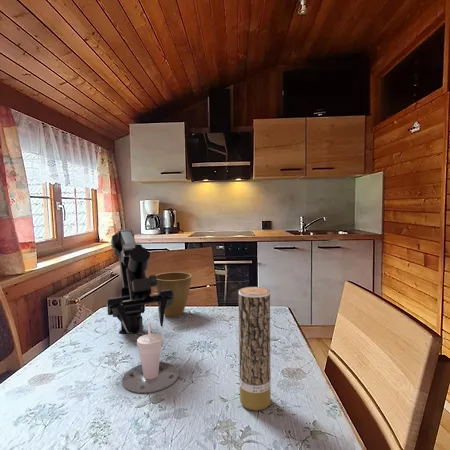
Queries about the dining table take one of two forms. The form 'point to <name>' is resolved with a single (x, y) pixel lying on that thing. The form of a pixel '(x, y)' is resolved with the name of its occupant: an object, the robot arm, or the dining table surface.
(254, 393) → the paper tube
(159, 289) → the plant pot
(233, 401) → the dining table surface
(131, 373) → the flange plate
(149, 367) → the smoothie
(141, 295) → the robot arm
